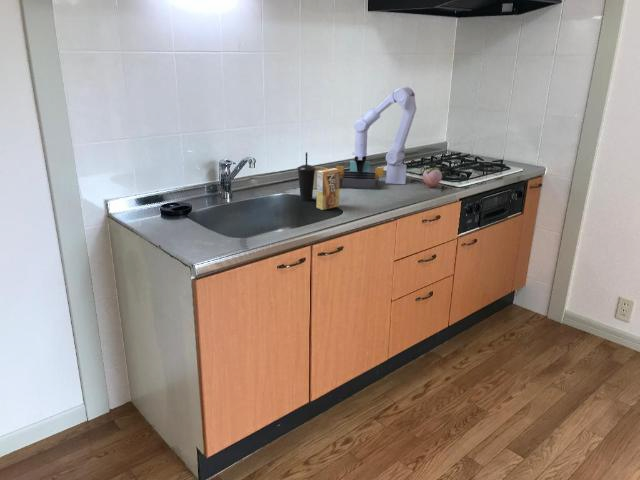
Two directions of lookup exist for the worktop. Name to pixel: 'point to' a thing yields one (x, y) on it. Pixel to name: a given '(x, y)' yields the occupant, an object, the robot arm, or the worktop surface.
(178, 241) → the worktop surface
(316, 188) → the flower pot
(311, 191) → the drinking cup
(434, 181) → the decorative fruit
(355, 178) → the rack
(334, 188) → the candy box
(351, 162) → the block
